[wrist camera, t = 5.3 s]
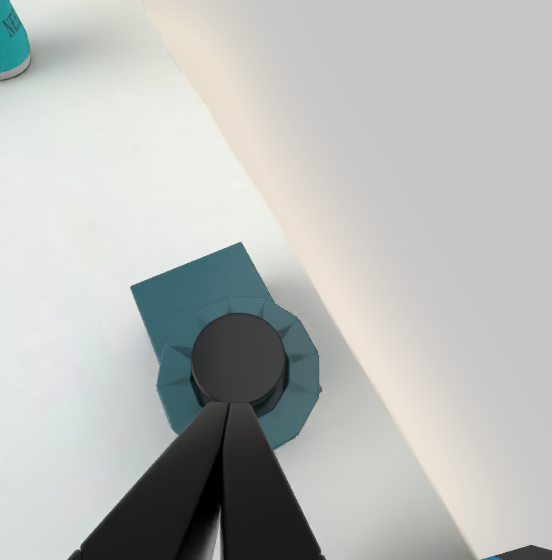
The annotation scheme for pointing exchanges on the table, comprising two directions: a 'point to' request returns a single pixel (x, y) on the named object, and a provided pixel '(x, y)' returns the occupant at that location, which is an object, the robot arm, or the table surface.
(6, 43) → the beverage can
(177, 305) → the teal block with ring
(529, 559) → the grenade
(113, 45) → the table surface
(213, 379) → the black short cylinder
